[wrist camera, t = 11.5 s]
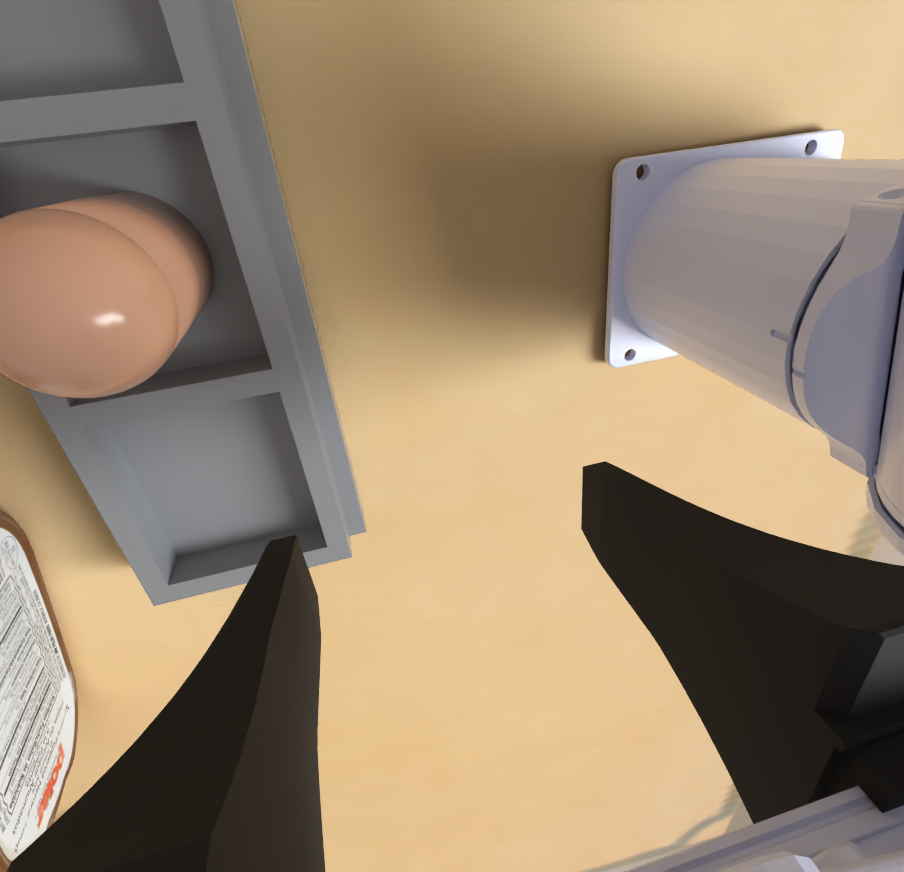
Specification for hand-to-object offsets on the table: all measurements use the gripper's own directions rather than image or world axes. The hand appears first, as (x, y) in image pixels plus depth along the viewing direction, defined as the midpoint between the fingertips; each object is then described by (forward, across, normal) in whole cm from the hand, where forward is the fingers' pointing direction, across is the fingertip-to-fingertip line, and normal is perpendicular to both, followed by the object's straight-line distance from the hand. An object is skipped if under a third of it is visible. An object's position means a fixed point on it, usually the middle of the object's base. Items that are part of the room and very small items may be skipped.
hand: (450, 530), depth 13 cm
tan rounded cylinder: (+8, +7, -6) cm, 12 cm away
